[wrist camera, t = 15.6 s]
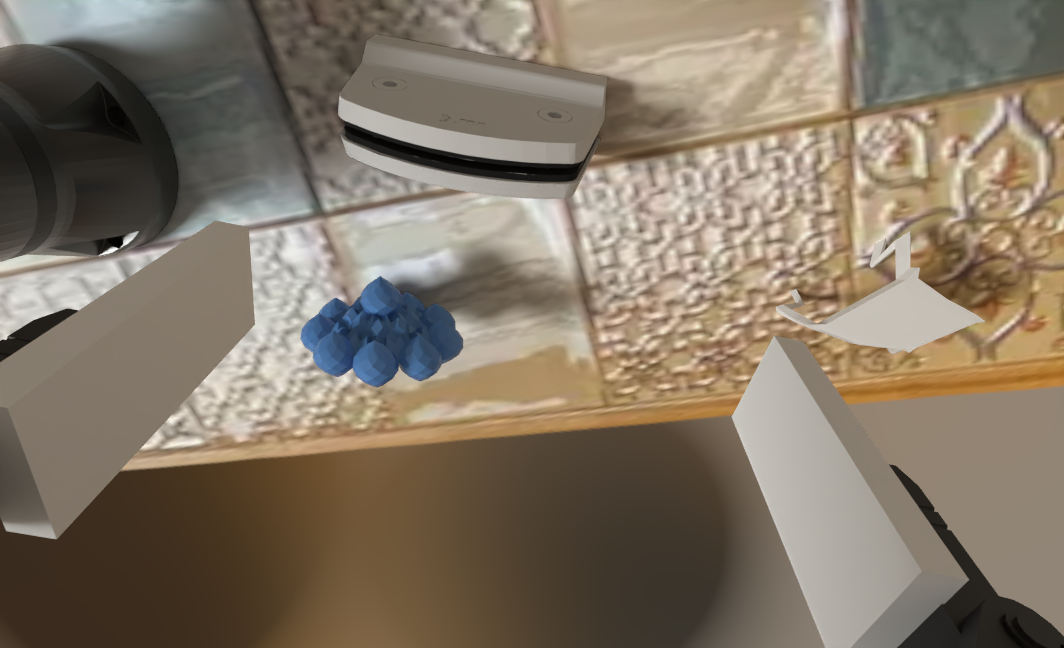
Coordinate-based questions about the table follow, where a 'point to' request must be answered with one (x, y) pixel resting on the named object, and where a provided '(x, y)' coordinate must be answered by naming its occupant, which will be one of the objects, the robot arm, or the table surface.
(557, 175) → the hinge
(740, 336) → the table surface
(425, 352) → the grapes
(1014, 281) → the table surface
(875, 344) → the origami figure
